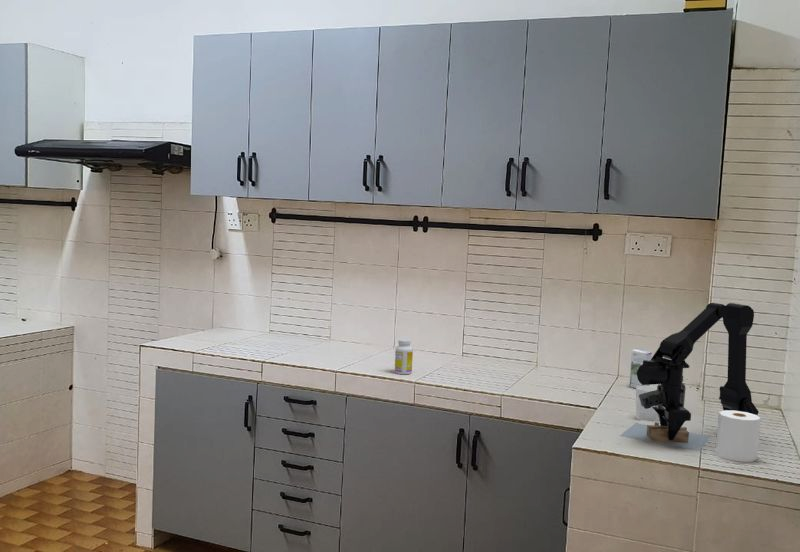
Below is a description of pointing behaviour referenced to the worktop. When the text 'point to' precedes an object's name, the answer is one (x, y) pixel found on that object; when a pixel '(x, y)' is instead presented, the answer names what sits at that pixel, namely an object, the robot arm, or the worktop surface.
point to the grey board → (641, 433)
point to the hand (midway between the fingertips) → (667, 436)
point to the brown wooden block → (666, 434)
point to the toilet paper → (737, 435)
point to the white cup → (640, 410)
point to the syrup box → (638, 365)
